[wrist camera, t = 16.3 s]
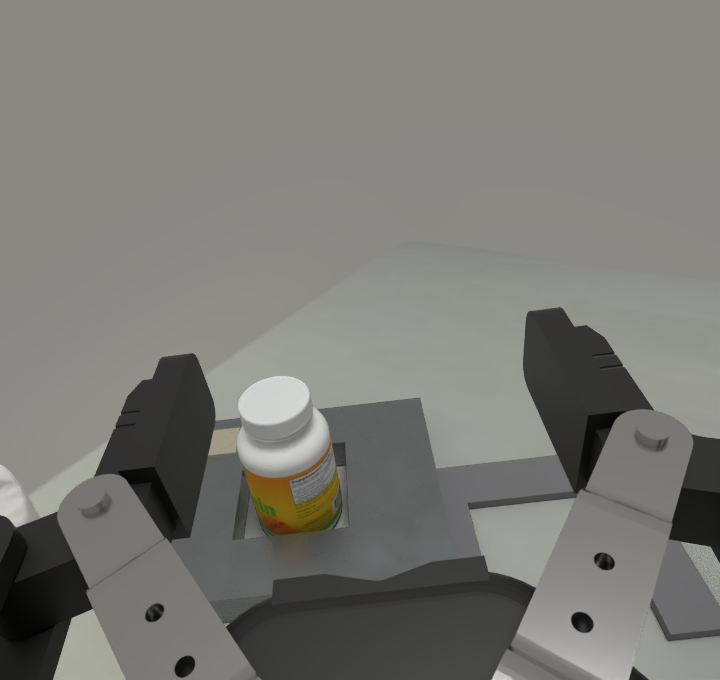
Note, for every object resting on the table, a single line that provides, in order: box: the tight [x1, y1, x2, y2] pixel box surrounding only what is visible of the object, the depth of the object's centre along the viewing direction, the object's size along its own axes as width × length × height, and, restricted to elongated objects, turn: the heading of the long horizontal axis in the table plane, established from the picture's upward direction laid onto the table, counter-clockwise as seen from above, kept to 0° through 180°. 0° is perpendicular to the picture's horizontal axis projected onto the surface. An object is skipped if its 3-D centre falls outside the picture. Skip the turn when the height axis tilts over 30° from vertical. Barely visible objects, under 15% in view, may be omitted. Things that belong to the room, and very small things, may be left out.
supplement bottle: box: [237, 376, 342, 536], centre depth 33 cm, size 5×5×10 cm
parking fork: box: [436, 455, 720, 641], centre depth 32 cm, size 12×14×1 cm
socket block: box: [171, 398, 456, 623], centre depth 36 cm, size 18×14×2 cm
